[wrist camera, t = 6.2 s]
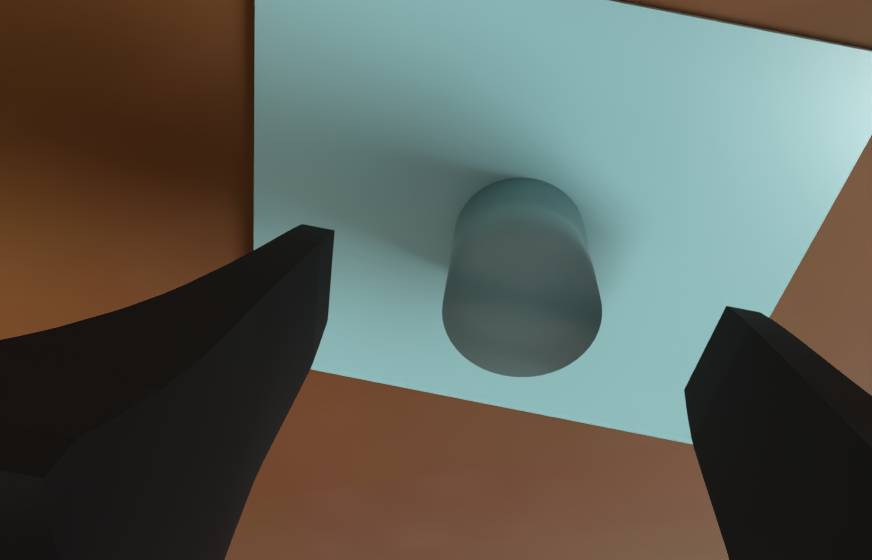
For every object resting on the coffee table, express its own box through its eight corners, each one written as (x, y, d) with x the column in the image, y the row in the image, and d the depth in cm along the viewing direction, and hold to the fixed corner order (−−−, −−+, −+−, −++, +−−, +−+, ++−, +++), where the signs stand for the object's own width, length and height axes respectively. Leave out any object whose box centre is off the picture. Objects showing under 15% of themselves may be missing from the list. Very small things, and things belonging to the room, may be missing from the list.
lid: (884, 48, 12) (1038, 107, 8) (688, 417, 17) (733, 547, 13) (273, -71, 12) (176, -61, 8) (266, 335, 17) (203, 443, 13)
